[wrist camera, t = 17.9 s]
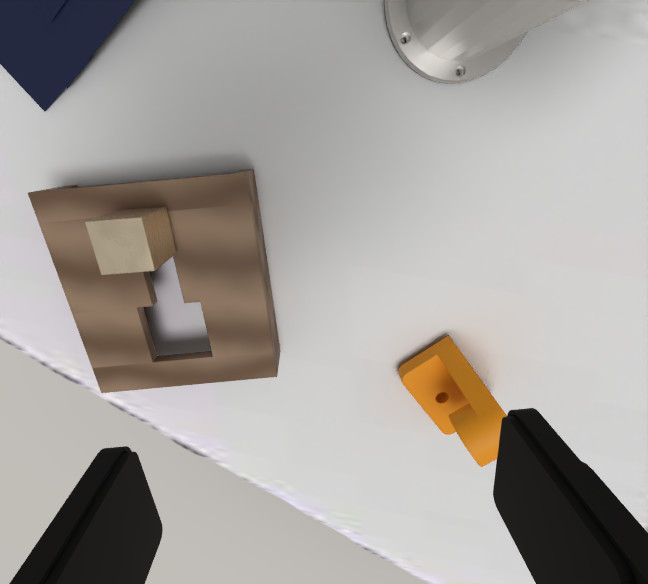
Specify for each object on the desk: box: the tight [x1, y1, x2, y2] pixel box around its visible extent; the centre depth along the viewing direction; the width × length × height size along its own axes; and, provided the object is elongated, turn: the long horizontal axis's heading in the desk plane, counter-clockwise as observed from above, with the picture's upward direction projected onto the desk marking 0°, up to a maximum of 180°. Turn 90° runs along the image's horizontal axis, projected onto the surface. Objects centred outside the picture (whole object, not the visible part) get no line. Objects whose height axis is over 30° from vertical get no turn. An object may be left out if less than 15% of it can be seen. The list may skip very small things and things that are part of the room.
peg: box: [85, 207, 177, 275], centre depth 32 cm, size 4×4×10 cm
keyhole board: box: [28, 169, 280, 393], centre depth 37 cm, size 20×18×5 cm
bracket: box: [398, 335, 507, 467], centre depth 40 cm, size 11×7×12 cm, turn 37°
